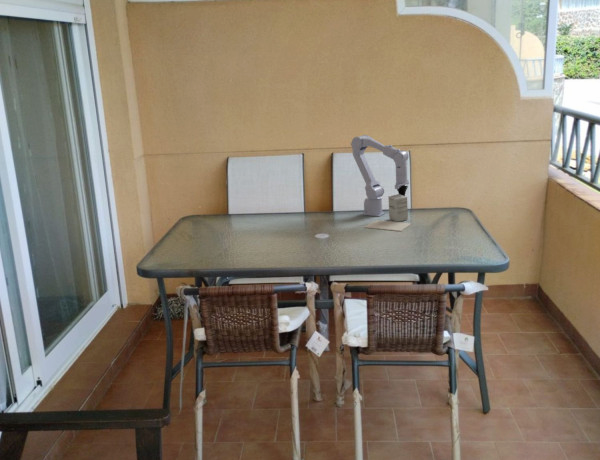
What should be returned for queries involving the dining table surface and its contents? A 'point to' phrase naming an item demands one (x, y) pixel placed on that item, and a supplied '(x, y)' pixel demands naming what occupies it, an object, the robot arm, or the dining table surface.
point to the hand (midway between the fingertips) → (402, 199)
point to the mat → (388, 225)
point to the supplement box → (398, 208)
